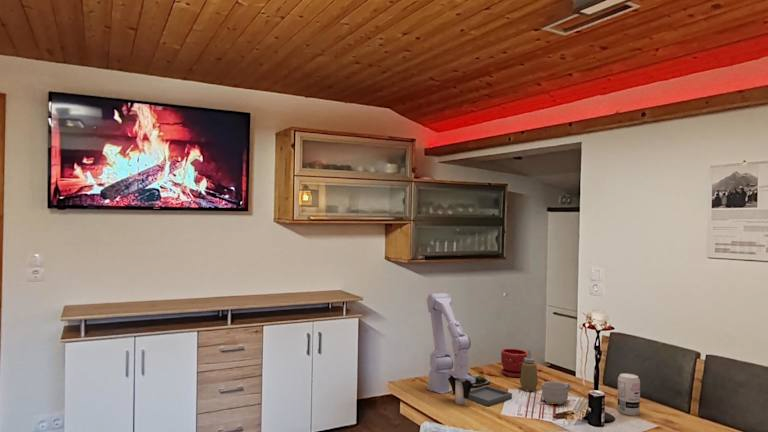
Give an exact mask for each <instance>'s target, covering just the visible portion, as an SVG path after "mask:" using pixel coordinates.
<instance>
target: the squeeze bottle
mask: <svg viewBox="0 0 768 432" xmlns="http://www.w3.org/2000/svg"><path fill="white" fill-rule="evenodd" d="M526 352H527V357H525V358H524V362H523V363H522V368H521V377H520V380H519V382H520V383H519V384H520V385H521V388H522V390H523V391H526V392H535V391H536V390H537V387H538V384H539V381H538V379H539V377H538V368H537V364H536V363H535V358H534V357H532V351H531V350H530V349H529V350H527V351H526Z"/></svg>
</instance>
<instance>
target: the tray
mask: <svg viewBox="0 0 768 432" xmlns="http://www.w3.org/2000/svg"><path fill="white" fill-rule="evenodd" d="M467 400H468V401H471V402H473V403H477V404H480V405H482V406H486V407H492V406H496V405H497V404H501V403H503V402H504V403H505V402H507V401H509V400H513V393H512V392H509V391H506V390H503V389H499V388H496V387H493V386H490V385H486V386H482V387H478V388H473V389H471V390H470V393H469V396H468V398H466V401H467Z"/></svg>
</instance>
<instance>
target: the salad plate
mask: <svg viewBox="0 0 768 432" xmlns="http://www.w3.org/2000/svg"><path fill="white" fill-rule="evenodd" d="M468 375H470V376H472V377H474V378H476V383H474V384H473V386H472V387H471V389H472V388H473V389H476V388H479V387H483V386H486V385H487V386H489V384H491V383H490V382H491V380H490V378H487V377H485V376H482V375H476V374H472V373H470V372H468Z"/></svg>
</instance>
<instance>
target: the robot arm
mask: <svg viewBox="0 0 768 432" xmlns="http://www.w3.org/2000/svg"><path fill="white" fill-rule="evenodd" d="M452 303H453V302H452V296H451V294H450V293H448V292H441V293H440V292H439V293H429V294H428V296H427V299H426V306H427V311H428V313H430V321H431V326H432V337H433V344H434V345H433V346H434V349H433V350H432V352H431V353H430V355H429V367H430V369H431V370H429V373H428V387H427V388H426V389H427V390H429V391H432V392H435V393H438V394H441V395H443V394H446V393H451V392H452V395H454V396H455V380H457V379H462V380H465V381H464V382H462V386H463V394H464V398H465V399H466V398H468V396H469V393H470V390H472V388H471V387H472V386H473V384H474V383H476V378H474V377H472V376H470V375H468V373H469V349H470V348H471V345H472V342H471V341H472V340H471V338H470V336H469V335H467V333H465V332H464V329H463V327H462V324H461V323H460V321H459V320H456V317H455V314H454V312H453V309H452ZM442 314H443V315H442ZM443 316H444V318H445V320H446V322H447V328H446V329H447V330H448V332H449V335H450V337H451V340H452V341H451V346H452V348H453V349H452V352H453V354H454V355H453V354H452V352H451V351H450V350H449V349H447V345H446V338H445V337H446V336H445V330H444V321H443ZM453 357H454V358H453ZM452 369H453V370H452ZM466 400H467V399H466Z"/></svg>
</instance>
